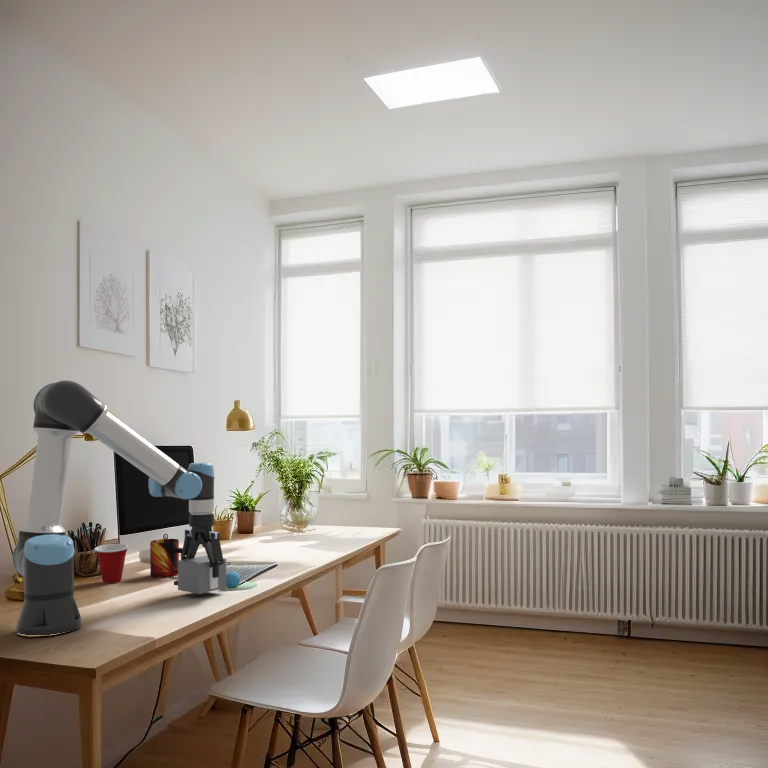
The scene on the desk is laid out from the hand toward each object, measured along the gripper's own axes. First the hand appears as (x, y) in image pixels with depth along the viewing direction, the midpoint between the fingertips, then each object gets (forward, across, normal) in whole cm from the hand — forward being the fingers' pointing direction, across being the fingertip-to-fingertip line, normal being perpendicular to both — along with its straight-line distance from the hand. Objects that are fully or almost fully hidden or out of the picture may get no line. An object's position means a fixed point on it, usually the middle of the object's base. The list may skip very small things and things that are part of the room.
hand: (202, 586), depth 229 cm
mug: (+3, +35, -14) cm, 38 cm away
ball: (0, 0, -12) cm, 12 cm away
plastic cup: (+3, +43, +4) cm, 43 cm away
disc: (+2, 0, -14) cm, 15 cm away
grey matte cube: (+1, 0, 0) cm, 1 cm away
